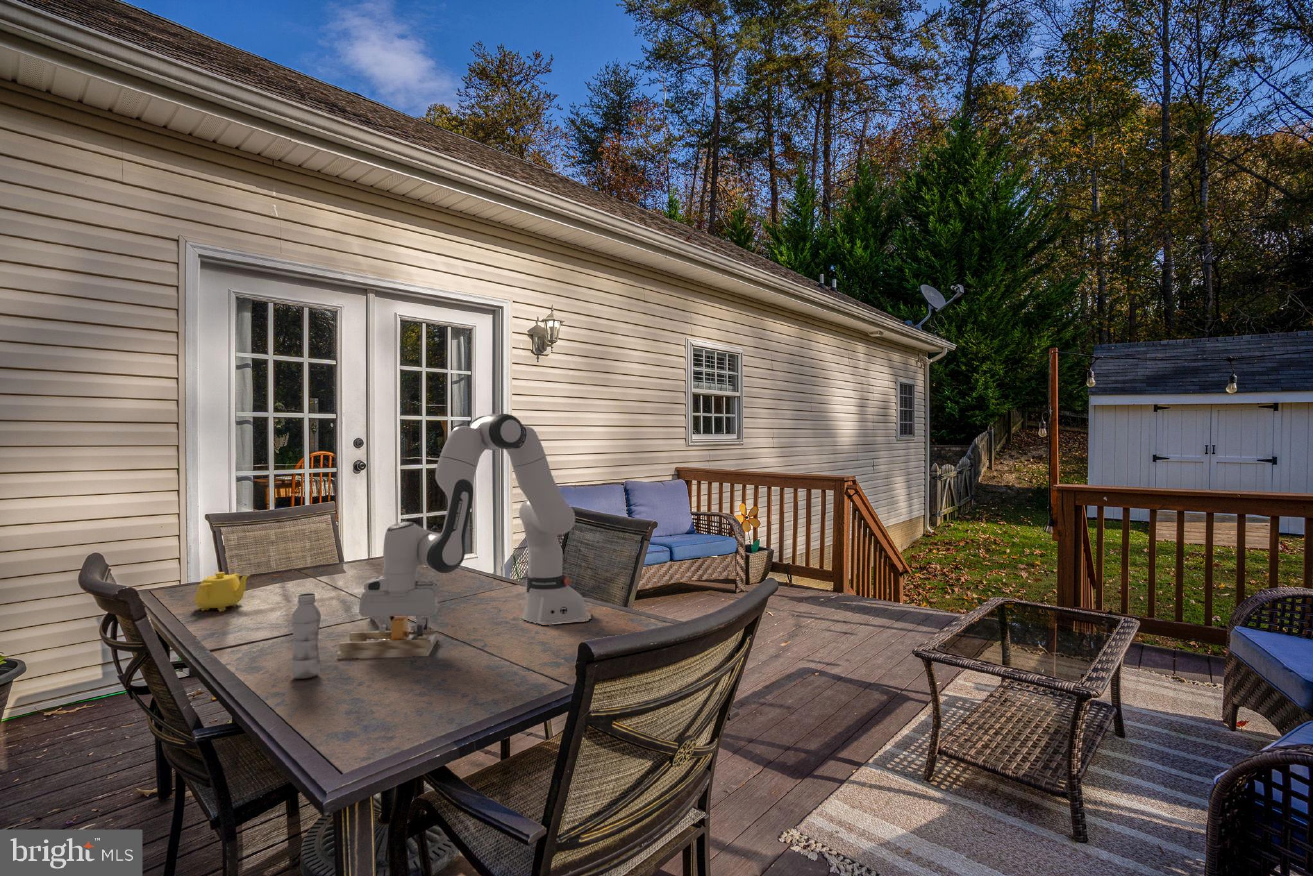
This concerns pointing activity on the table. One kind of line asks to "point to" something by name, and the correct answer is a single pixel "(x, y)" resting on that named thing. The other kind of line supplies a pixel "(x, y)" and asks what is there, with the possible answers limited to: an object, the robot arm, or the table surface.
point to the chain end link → (404, 631)
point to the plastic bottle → (305, 638)
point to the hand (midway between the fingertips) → (398, 631)
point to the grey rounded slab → (386, 621)
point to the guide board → (384, 646)
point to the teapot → (220, 591)
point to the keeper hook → (422, 626)
